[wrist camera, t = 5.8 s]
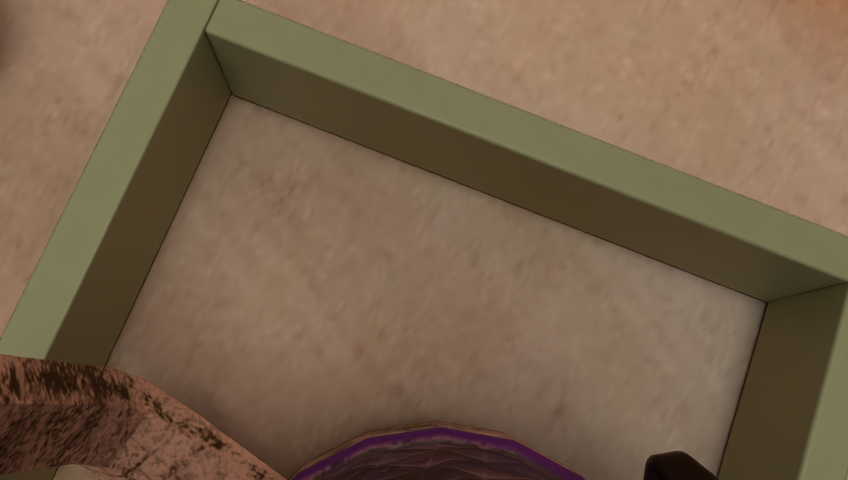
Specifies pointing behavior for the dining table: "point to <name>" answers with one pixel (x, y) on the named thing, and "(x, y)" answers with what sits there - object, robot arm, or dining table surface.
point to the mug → (217, 436)
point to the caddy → (457, 160)
